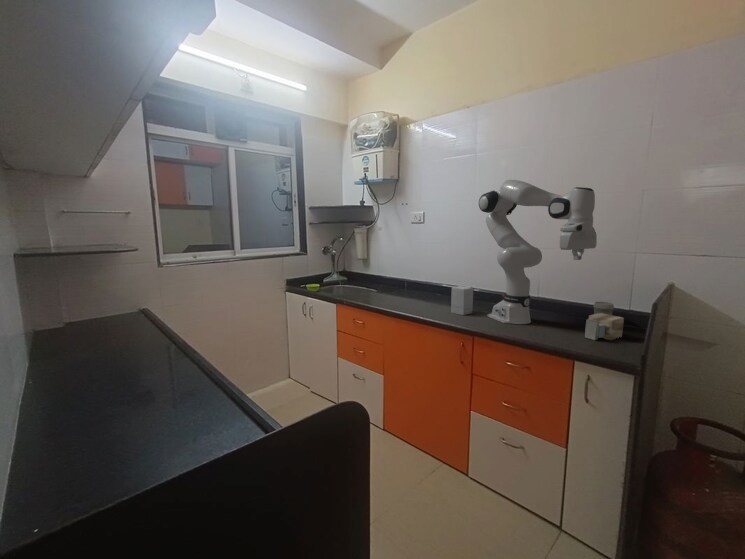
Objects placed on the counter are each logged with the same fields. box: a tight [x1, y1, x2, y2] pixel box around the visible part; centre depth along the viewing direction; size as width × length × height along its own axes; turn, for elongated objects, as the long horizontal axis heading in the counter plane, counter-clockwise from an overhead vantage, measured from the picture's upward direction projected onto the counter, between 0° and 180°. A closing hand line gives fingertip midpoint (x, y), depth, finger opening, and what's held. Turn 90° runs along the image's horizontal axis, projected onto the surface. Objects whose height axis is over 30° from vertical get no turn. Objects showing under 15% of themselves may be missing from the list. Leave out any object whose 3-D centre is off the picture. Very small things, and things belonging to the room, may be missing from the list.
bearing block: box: [588, 313, 625, 341], centre depth 154 cm, size 10×9×9 cm
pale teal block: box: [598, 323, 605, 339], centre depth 151 cm, size 5×4×5 cm, turn 28°
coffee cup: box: [592, 301, 615, 315], centre depth 166 cm, size 8×8×12 cm
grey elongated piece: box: [584, 318, 599, 341], centre depth 153 cm, size 4×18×8 cm, turn 118°
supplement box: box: [450, 285, 474, 316], centre depth 196 cm, size 9×9×15 cm
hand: (577, 259), depth 144 cm, fingers closed
